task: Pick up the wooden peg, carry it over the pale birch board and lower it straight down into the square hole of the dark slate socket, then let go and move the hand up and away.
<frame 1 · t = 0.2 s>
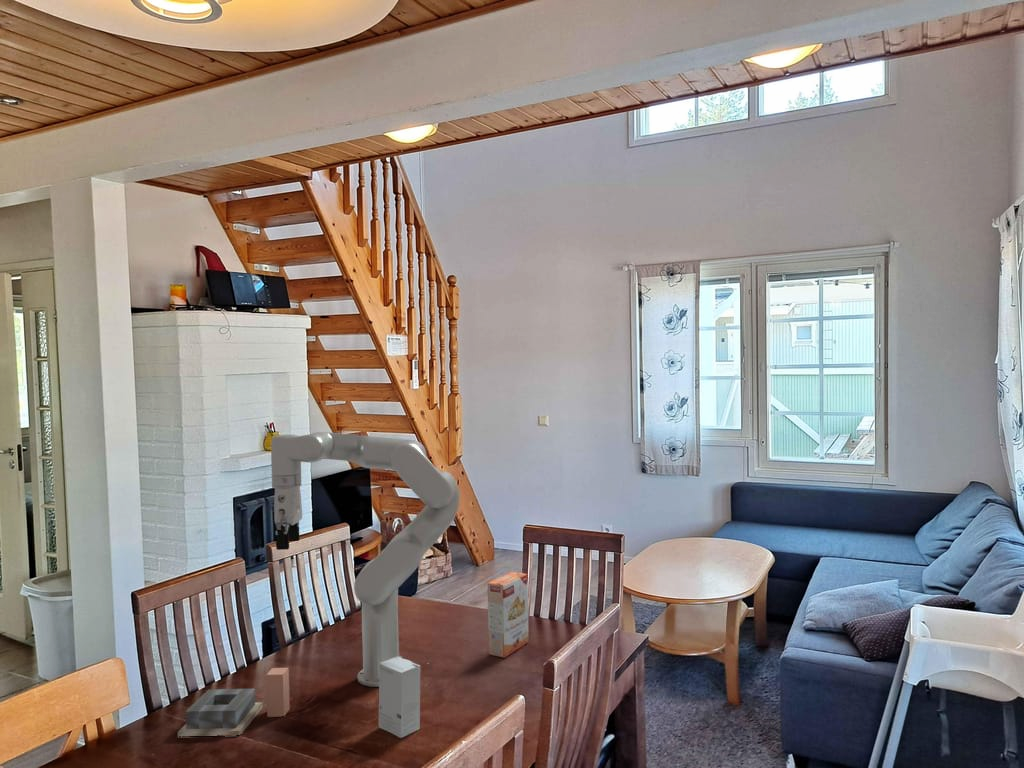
hand: (288, 545, 185), 36 cm above the table, tool pointing down, fingers open, 9 cm apart
skincare box: (400, 729, 157), on the table
socket block: (222, 721, 163), on the table
cracker box: (509, 649, 203), on the table
peg: (278, 712, 167), on the table
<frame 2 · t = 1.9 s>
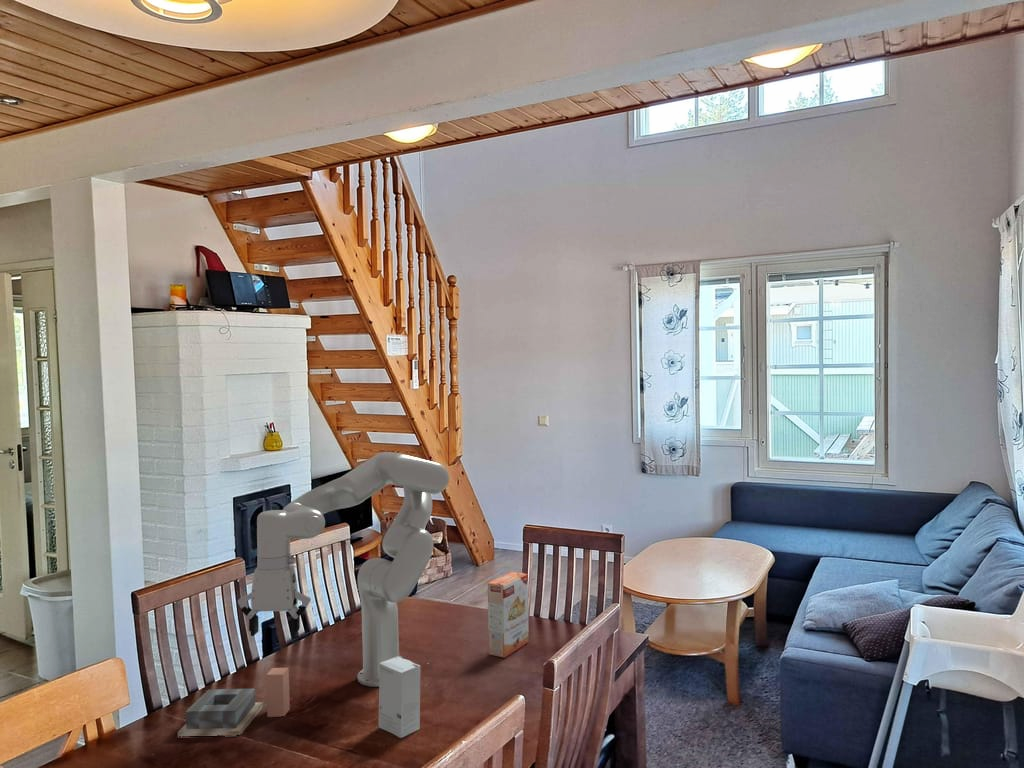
hand: (274, 633, 166), 19 cm above the table, tool pointing down, fingers open, 9 cm apart
nothing on the table moved.
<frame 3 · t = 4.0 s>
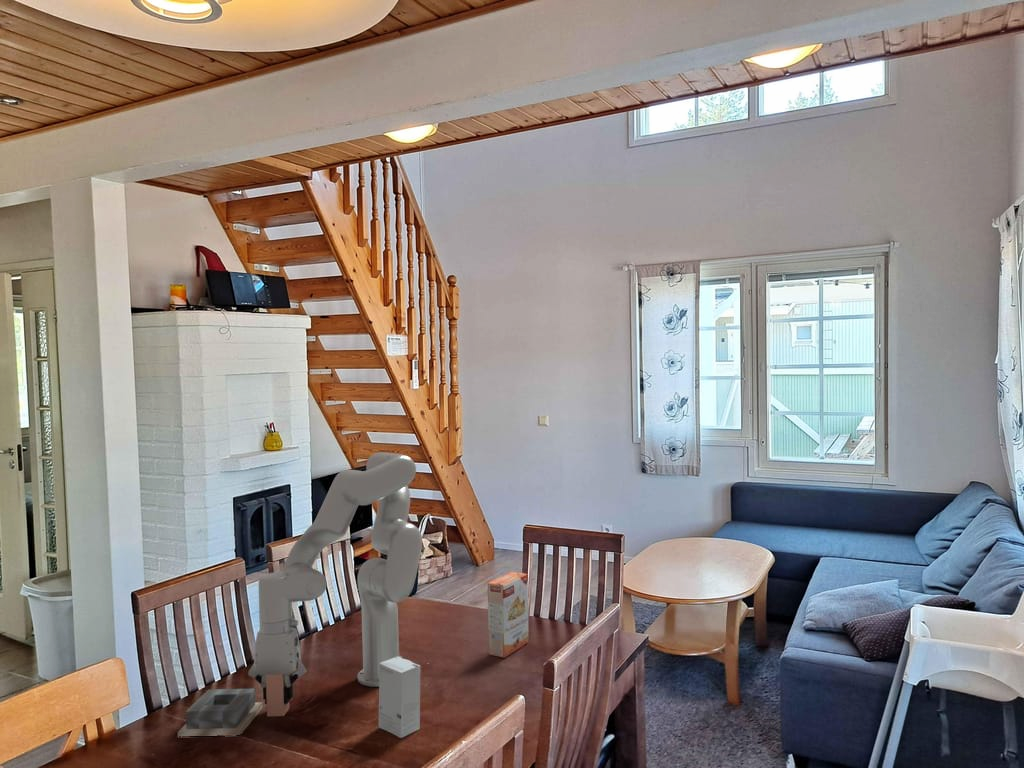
hand: (278, 700, 167), 3 cm above the table, tool pointing down, fingers closed on peg, 3 cm apart
peg: (278, 712, 167), on the table, touching gripper
everything else where it was.
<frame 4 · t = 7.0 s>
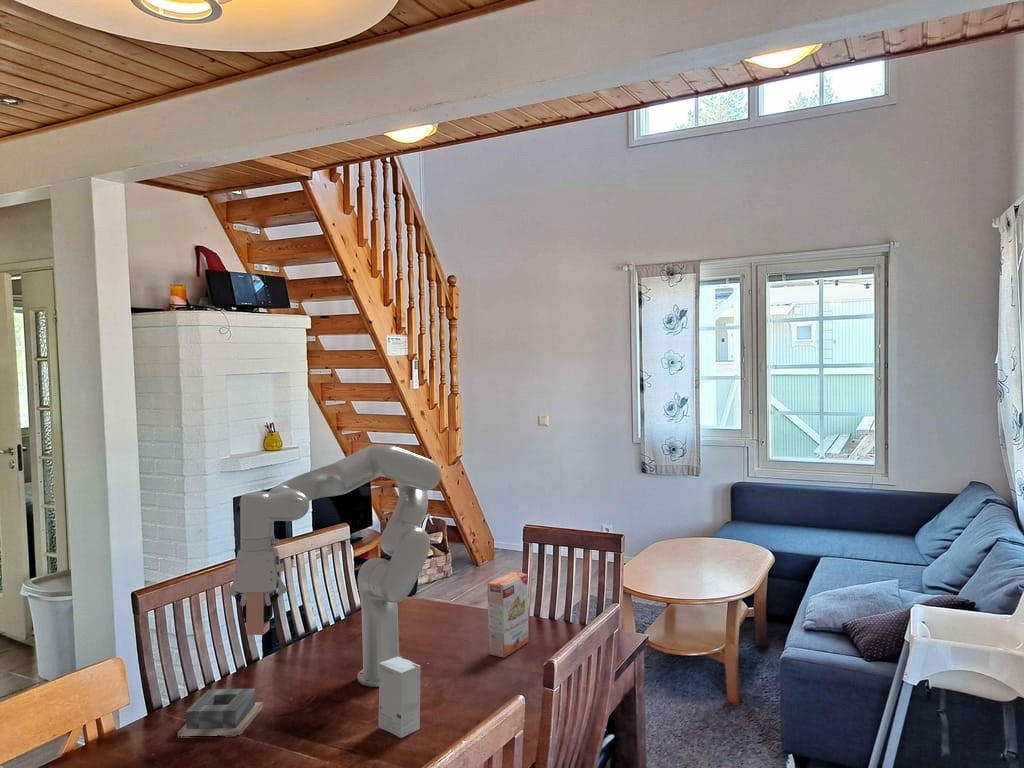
hand: (257, 620, 165), 23 cm above the table, tool pointing down, fingers closed on peg, 4 cm apart
peg: (258, 632, 165), point 20 cm above the table, touching gripper
everything else where it was.
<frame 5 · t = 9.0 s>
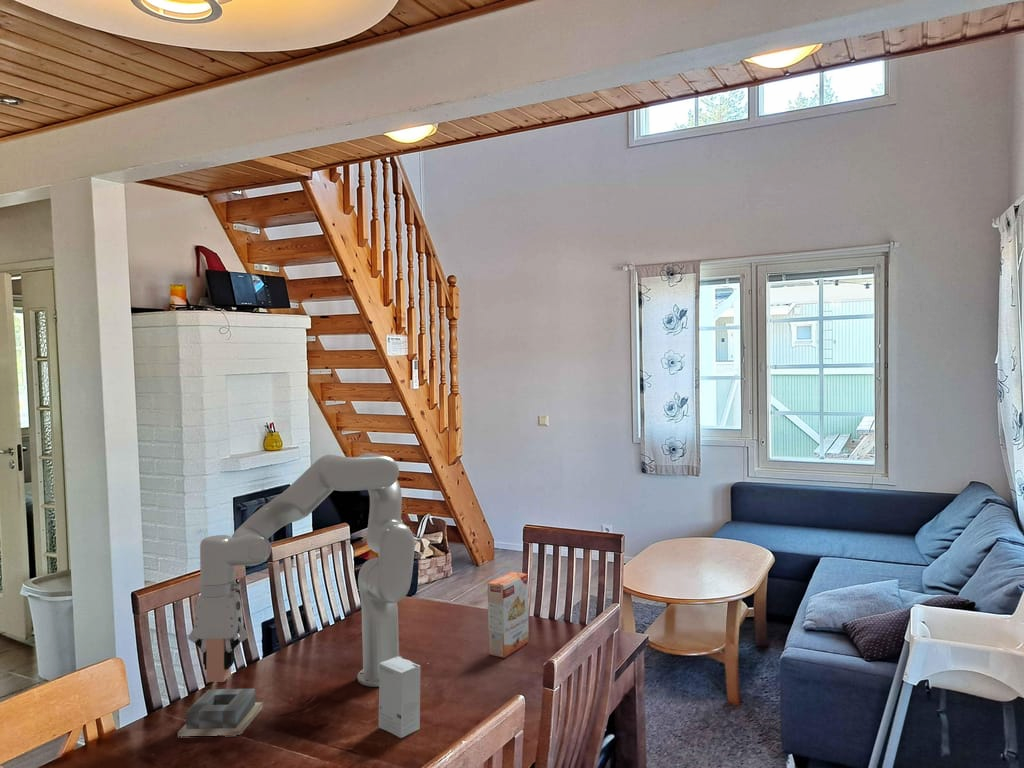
hand: (218, 666, 163), 13 cm above the table, tool pointing down, fingers closed on peg, 4 cm apart
peg: (218, 678, 163), point 10 cm above the table, touching gripper
everything else where it was.
when the fingers open (7 cm above the table, at t = 10.4 s): peg drops 3 cm, resting on socket block.
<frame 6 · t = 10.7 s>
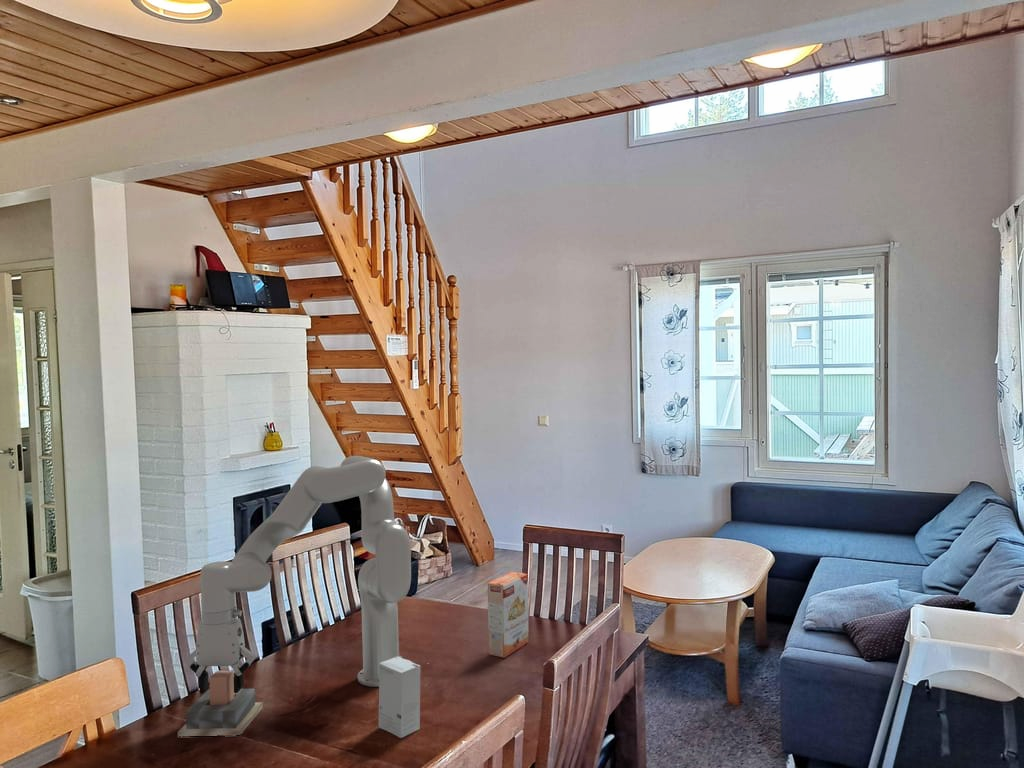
hand: (221, 690, 163), 7 cm above the table, tool pointing down, fingers open, 7 cm apart
peg: (222, 716, 163), point 1 cm above the table, touching socket block
everything else where it was.
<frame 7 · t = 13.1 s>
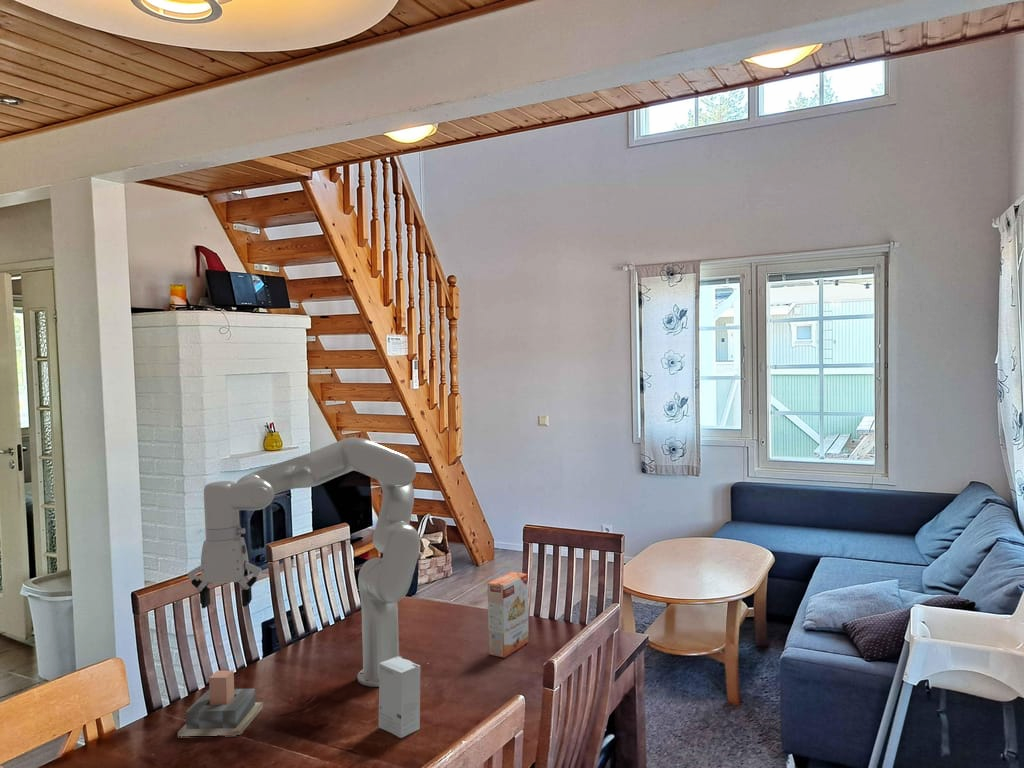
hand: (226, 605, 165), 27 cm above the table, tool pointing down, fingers open, 9 cm apart
nothing on the table moved.
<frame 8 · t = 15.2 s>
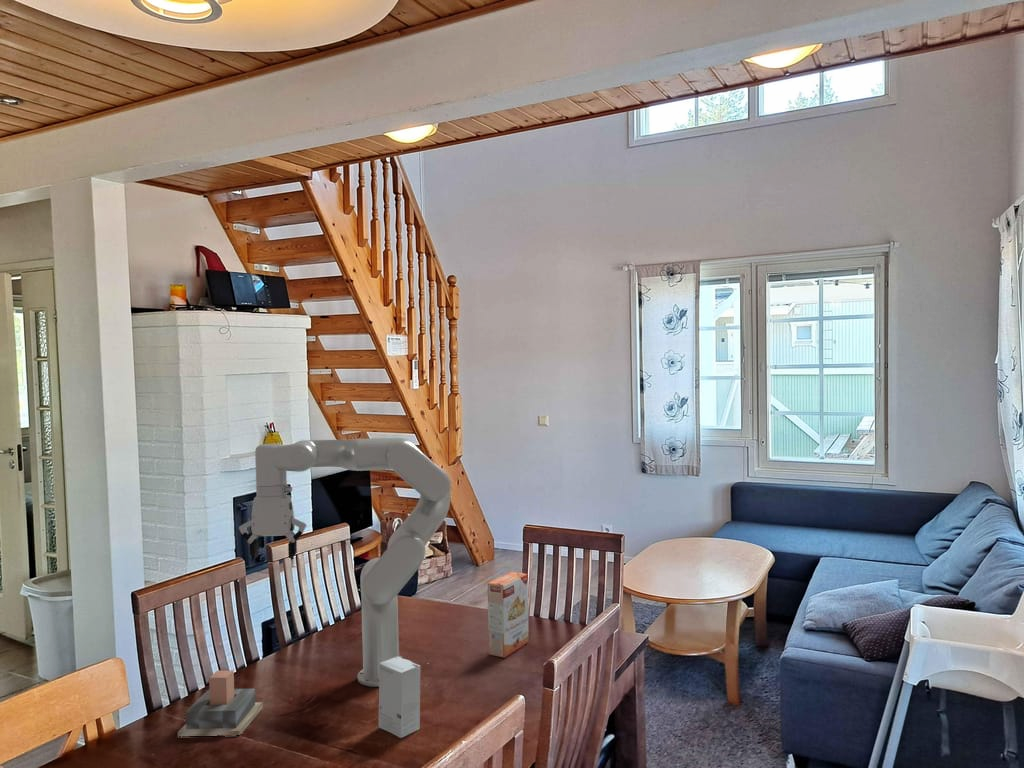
hand: (273, 557, 180), 34 cm above the table, tool pointing down, fingers open, 9 cm apart
nothing on the table moved.
at the end: peg 0.2 cm off-centre on the socket block, point 1.2 cm above the socket block's base; peg tilted 0°; the gripper is holding nothing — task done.
